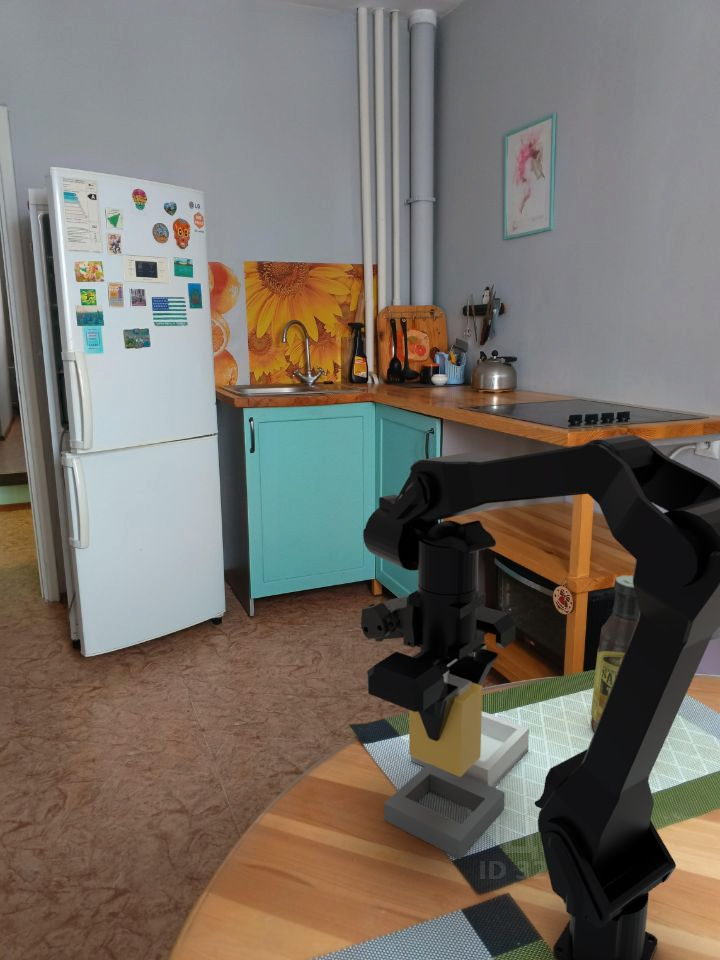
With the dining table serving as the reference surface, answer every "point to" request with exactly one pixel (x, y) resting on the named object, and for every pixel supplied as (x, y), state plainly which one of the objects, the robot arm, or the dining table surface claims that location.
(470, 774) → the tray
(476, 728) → the block
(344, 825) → the dining table surface
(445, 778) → the grey square frame
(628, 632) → the sauce bottle
